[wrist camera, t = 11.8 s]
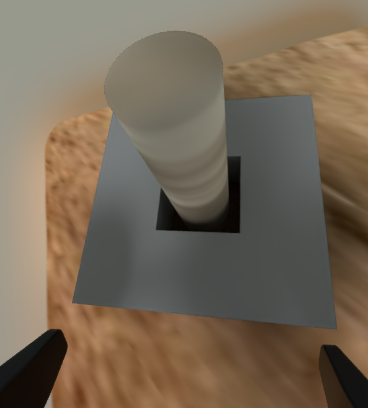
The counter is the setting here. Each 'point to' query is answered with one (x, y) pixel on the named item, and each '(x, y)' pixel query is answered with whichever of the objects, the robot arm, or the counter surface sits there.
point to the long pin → (177, 120)
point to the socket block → (214, 241)
